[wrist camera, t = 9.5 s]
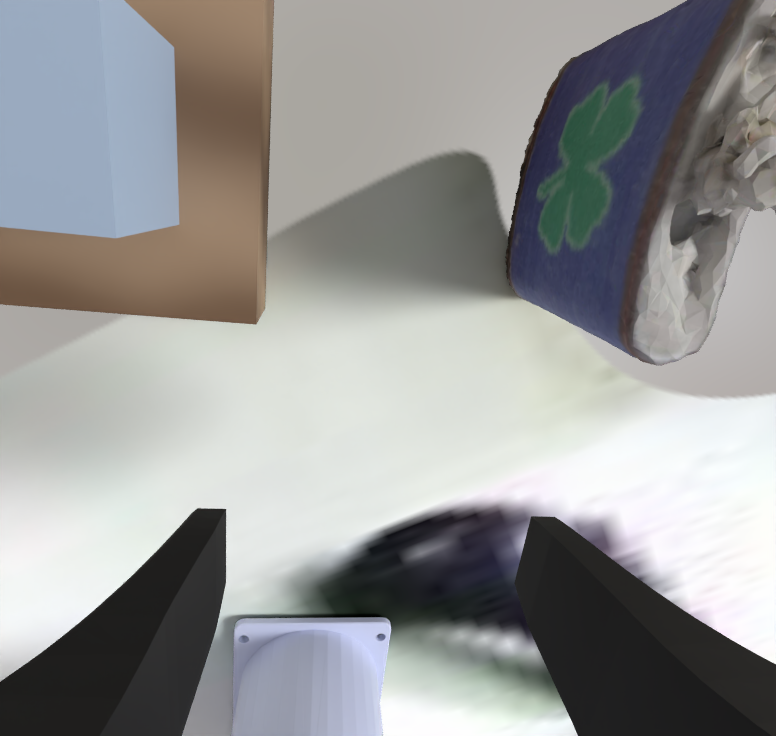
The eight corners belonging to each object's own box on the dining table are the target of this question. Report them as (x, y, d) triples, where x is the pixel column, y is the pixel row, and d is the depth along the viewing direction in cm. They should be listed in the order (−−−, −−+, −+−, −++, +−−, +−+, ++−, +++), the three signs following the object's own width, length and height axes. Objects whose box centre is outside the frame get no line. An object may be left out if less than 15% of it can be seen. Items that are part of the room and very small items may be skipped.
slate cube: (179, 224, 16) (116, 238, 11) (10, 206, 15) (-134, 213, 10) (174, 47, 14) (97, -25, 9) (-17, 17, 13) (-202, -77, 9)
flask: (550, 303, 21) (755, 405, 11) (486, 291, 20) (639, 385, 10) (626, 62, 18) (1001, -105, 8) (554, 41, 17) (857, -167, 7)
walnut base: (264, 308, 19) (256, 324, 17) (-10, 285, 18) (-61, 299, 16) (275, -57, 15) (266, -101, 13) (-75, -124, 14) (-156, -187, 12)
